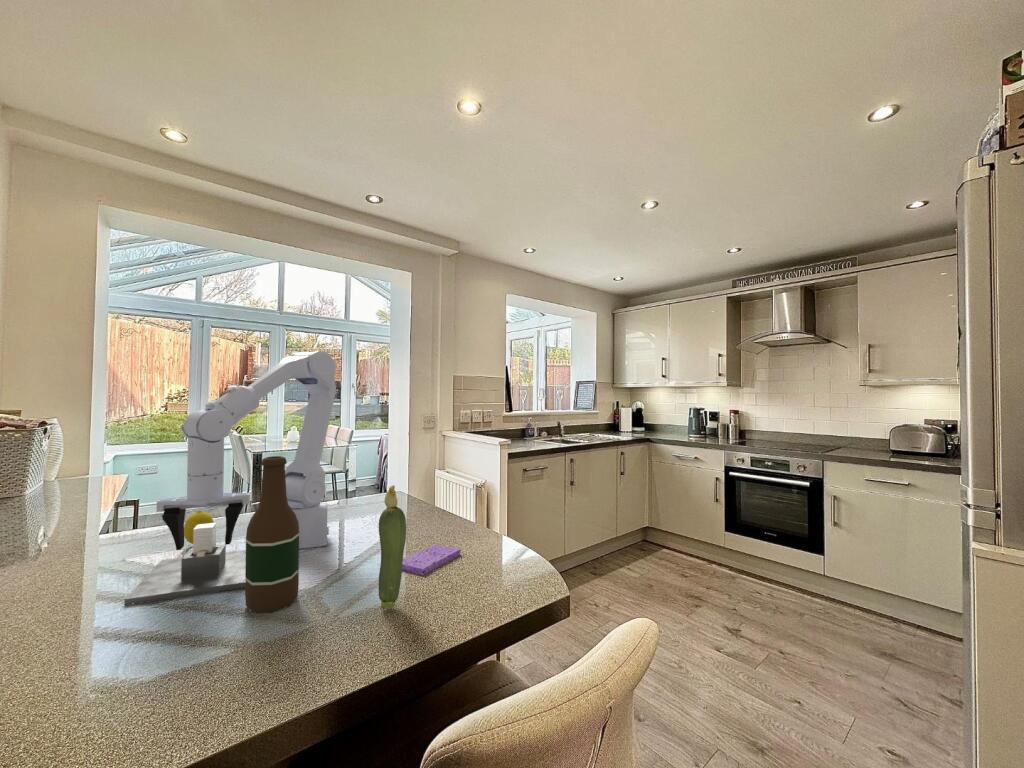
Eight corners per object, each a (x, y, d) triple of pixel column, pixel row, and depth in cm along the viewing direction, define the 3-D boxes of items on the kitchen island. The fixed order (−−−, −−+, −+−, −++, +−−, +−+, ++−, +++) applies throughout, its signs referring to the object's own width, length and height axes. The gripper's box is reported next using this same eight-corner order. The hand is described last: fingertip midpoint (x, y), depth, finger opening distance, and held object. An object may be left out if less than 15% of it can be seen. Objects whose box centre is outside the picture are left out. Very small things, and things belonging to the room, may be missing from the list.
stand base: (264, 552, 96) (264, 528, 96) (251, 586, 79) (252, 558, 79) (161, 564, 89) (162, 539, 89) (124, 605, 72) (125, 573, 72)
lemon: (219, 542, 102) (220, 507, 102) (200, 551, 96) (200, 514, 96) (197, 541, 102) (197, 506, 103) (176, 550, 97) (177, 513, 97)
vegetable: (381, 601, 74) (382, 481, 74) (407, 600, 74) (408, 480, 75) (375, 614, 70) (376, 486, 70) (403, 613, 70) (404, 486, 70)
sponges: (395, 571, 88) (395, 561, 88) (435, 551, 99) (435, 542, 99) (422, 578, 84) (422, 568, 84) (461, 556, 95) (461, 548, 95)
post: (215, 564, 86) (216, 522, 86) (212, 570, 83) (212, 527, 83) (196, 566, 85) (197, 524, 85) (192, 572, 82) (192, 529, 82)
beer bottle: (308, 596, 76) (310, 455, 76) (270, 618, 68) (272, 462, 69) (273, 589, 78) (275, 453, 79) (233, 609, 71) (235, 459, 71)
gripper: (150, 480, 78) (149, 558, 77) (246, 474, 83) (245, 547, 83) (164, 473, 84) (163, 545, 84) (252, 468, 90) (251, 535, 90)
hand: (204, 545), depth 84 cm, fingers open, 7 cm apart
